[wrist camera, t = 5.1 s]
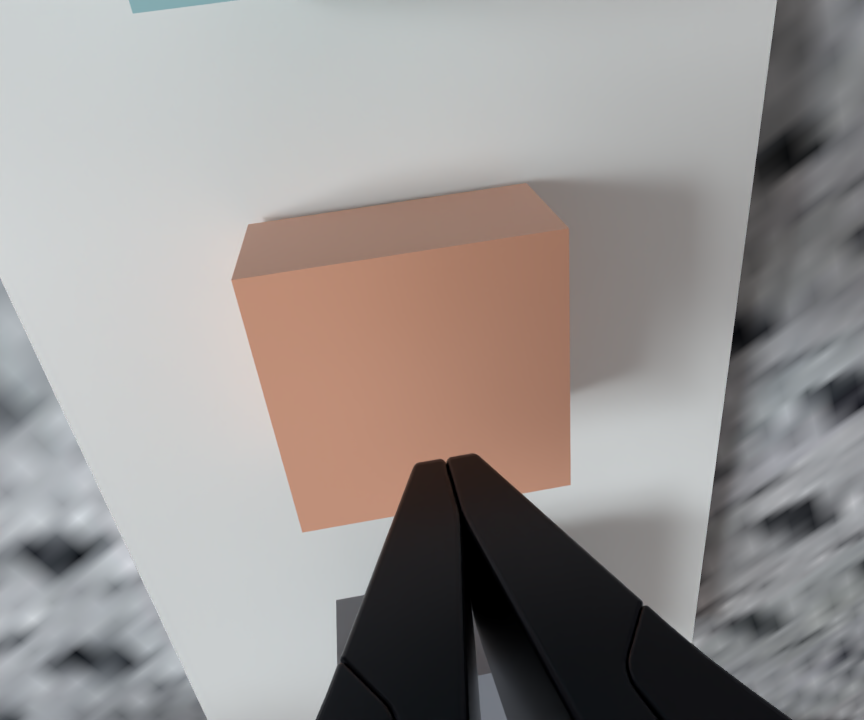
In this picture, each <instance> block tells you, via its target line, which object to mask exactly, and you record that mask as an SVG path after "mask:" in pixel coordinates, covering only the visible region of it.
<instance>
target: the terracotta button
mask: <svg viewBox="0 0 864 720" xmlns="http://www.w3.org/2000/svg"><path fill="white" fill-rule="evenodd" d="M231 281H232V285H233V288H234V292H235V295H236V299H237V302H238V306H239V310H240V313H241V317H242V320H243V324H244V327H245V331H246V334H247V338H248V341H249V345H250V349H251V352H252V356H253V359H254V363H255V366H256V370H257V373H258V377H259V381H260V384H261V388H262V391H263V395H264V398H265V402H266V405H267V409H268V412H269V416H270V420H271V423H272V427H273V430H274V434H275V437H276V441H277V444H278V448H279V452H280V455H281V459H282V462H283V466H284V469H285V473H286V476H287V480H288V483H289V487H290V491H291V494H292V498H293V501H294V505H295V508H296V512H297V515H298V519H299V522H300V526H301V530H302V533H303V532H309V531H314V530H320V529H326V528H331V527H337V526H342V525H348V524H354V523H359V522H365V521H371V520H376V519H382V518H387V517H393V516H395V513H396V511H397V508H398V505H399V503H400V500H401V498H402V495H403V492H404V490H405V487H406V484H407V482H408V479H409V477H410V474H411V471H412V469H413V467H414V465H415V464H416V463H418V462H424V461H430V460H435V459H443V460H444V461H445V462H446V461H447V459H448V458H449V457H453V456H459V455H464V454H470V453H475V454H477V455H479V456H480V457H481V458H482V459H483V460H484V461H486V462H487V463H488V464H489V465H490V466H491V467H492V468H493V469H495V470H496V471H497V472H498V473H499V474H500V475H501V476H502V477H504V478H505V479H506V480H507V481H508V482H509V483H510V484H511V485H513V486H514V487H515V488H516V489H517V490H518V491H519V492H520V493H522V494H523V493H528V492H534V491H540V490H545V489H551V488H557V487H562V486H568V485H571V449H570V295H569V228H568V227H567V226H566V225H565V223H564V222H563V221H562V220H561V219H560V218H559V217H558V216H557V215H556V214H555V213H554V212H553V211H552V210H551V209H550V208H549V206H548V205H547V204H546V203H545V202H544V201H543V200H542V199H541V198H540V197H539V196H538V195H537V194H536V193H535V192H534V191H533V190H532V188H531V187H530V186H529V185H528V184H527V183H523V184H516V185H510V186H503V187H496V188H489V189H483V190H476V191H469V192H462V193H456V194H449V195H442V196H436V197H429V198H422V199H415V200H409V201H402V202H395V203H388V204H382V205H375V206H368V207H362V208H355V209H348V210H341V211H335V212H328V213H321V214H315V215H308V216H301V217H294V218H288V219H281V220H274V221H267V222H261V223H254V224H248V227H247V230H246V233H245V236H244V240H243V243H242V246H241V250H240V253H239V256H238V260H237V263H236V266H235V269H234V273H233V276H232V279H231Z"/></svg>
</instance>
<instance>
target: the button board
mask: <svg viewBox="0 0 864 720" xmlns="http://www.w3.org/2000/svg"><path fill="white" fill-rule="evenodd" d="M776 5H777V0H235V1H227V2H220V3H212V4H204V5H196V6H188V7H181V8H173V9H165V10H157V11H150V12H142V13H134V14H133V13H132V9H131V6H130V3H129V0H0V278H1V281H2V283H3V285H4V287H5V289H6V291H7V293H8V296H9V298H10V300H11V302H12V304H13V306H14V308H15V310H16V313H17V315H18V317H19V319H20V321H21V323H22V325H23V327H24V330H25V332H26V334H27V336H28V338H29V340H30V342H31V345H32V347H33V349H34V351H35V353H36V355H37V357H38V359H39V362H40V364H41V366H42V368H43V370H44V372H45V374H46V377H47V379H48V381H49V383H50V385H51V387H52V389H53V391H54V394H55V396H56V398H57V400H58V402H59V404H60V406H61V409H62V411H63V413H64V415H65V417H66V419H67V421H68V423H69V426H70V428H71V430H72V432H73V434H74V436H75V438H76V441H77V443H78V445H79V447H80V449H81V451H82V453H83V455H84V458H85V460H86V462H87V464H88V466H89V468H90V470H91V473H92V475H93V477H94V479H95V481H96V483H97V485H98V487H99V490H100V492H101V494H102V496H103V498H104V500H105V502H106V504H107V507H108V509H109V511H110V513H111V515H112V517H113V519H114V522H115V524H116V526H117V528H118V530H119V532H120V534H121V536H122V539H123V541H124V543H125V545H126V547H127V549H128V551H129V554H130V556H131V558H132V560H133V562H134V564H135V566H136V568H137V571H138V573H139V575H140V577H141V579H142V581H143V583H144V586H145V588H146V590H147V592H148V594H149V596H150V598H151V600H152V603H153V605H154V607H155V609H156V611H157V613H158V615H159V618H160V620H161V622H162V624H163V626H164V628H165V630H166V632H167V635H168V637H169V639H170V641H171V643H172V645H173V647H174V650H175V652H176V654H177V656H178V658H179V660H180V662H181V664H182V667H183V669H184V671H185V673H186V675H187V677H188V679H189V681H190V684H191V686H192V688H193V690H194V692H195V694H196V696H197V699H198V701H199V703H200V705H201V707H202V709H203V711H204V713H205V716H206V718H207V720H315V719H316V717H317V715H318V712H319V710H320V707H321V705H322V703H323V700H324V698H325V696H326V693H327V691H328V688H329V685H330V683H331V680H332V677H333V675H334V672H335V670H336V667H337V629H336V600H339V599H345V598H350V597H356V596H361V595H364V594H365V592H366V589H367V587H368V584H369V581H370V579H371V576H372V574H373V571H374V568H375V566H376V563H377V560H378V558H379V555H380V553H381V550H382V547H383V545H384V542H385V539H386V537H387V534H388V532H389V529H390V526H391V524H392V521H393V518H394V516H393V517H387V518H382V519H376V520H371V521H365V522H359V523H354V524H348V525H342V526H337V527H331V528H326V529H320V530H314V531H309V532H303V533H302V530H301V526H300V522H299V519H298V515H297V512H296V508H295V505H294V501H293V498H292V494H291V491H290V487H289V483H288V480H287V476H286V473H285V469H284V466H283V462H282V459H281V455H280V452H279V448H278V444H277V441H276V437H275V434H274V430H273V427H272V423H271V420H270V416H269V412H268V409H267V405H266V402H265V398H264V395H263V391H262V388H261V384H260V381H259V377H258V373H257V370H256V366H255V363H254V359H253V356H252V352H251V349H250V345H249V341H248V338H247V334H246V331H245V327H244V324H243V320H242V317H241V313H240V310H239V306H238V302H237V299H236V295H235V292H234V288H233V285H232V281H231V279H232V276H233V273H234V269H235V266H236V263H237V260H238V256H239V253H240V250H241V246H242V243H243V240H244V236H245V233H246V230H247V227H248V224H254V223H261V222H267V221H274V220H281V219H288V218H294V217H301V216H308V215H315V214H321V213H328V212H335V211H341V210H348V209H355V208H362V207H368V206H375V205H382V204H388V203H395V202H402V201H409V200H415V199H422V198H429V197H436V196H442V195H449V194H456V193H462V192H469V191H476V190H483V189H489V188H496V187H503V186H510V185H516V184H523V183H527V184H528V185H529V186H530V187H531V188H532V190H533V191H534V192H535V193H536V194H537V195H538V196H539V197H540V198H541V199H542V200H543V201H544V202H545V203H546V204H547V205H548V206H549V208H550V209H551V210H552V211H553V212H554V213H555V214H556V215H557V216H558V217H559V218H560V219H561V220H562V221H563V222H564V223H565V225H566V226H567V227H568V228H569V295H570V449H571V485H568V486H562V487H557V488H551V489H545V490H540V491H534V492H528V493H523V495H524V496H525V497H526V498H527V499H528V500H529V501H531V502H532V503H533V504H534V505H535V506H536V507H537V508H538V509H540V510H541V511H542V512H543V513H544V514H545V515H546V516H547V517H549V518H550V519H551V520H552V521H553V522H554V523H555V524H556V525H558V526H559V527H560V528H561V529H562V530H563V531H564V532H565V533H567V534H568V535H569V536H570V537H571V538H572V539H573V540H574V541H576V542H577V543H578V544H579V545H580V546H581V547H582V548H583V549H585V550H586V551H587V552H588V553H589V554H590V555H591V556H592V557H594V558H595V559H596V560H597V561H598V562H599V563H600V564H601V565H603V566H604V567H605V568H606V569H607V570H608V571H609V572H610V573H612V574H613V575H614V576H615V577H616V578H617V579H618V580H619V581H621V582H622V583H623V584H624V585H625V586H626V587H627V588H628V589H630V590H631V591H632V592H633V593H634V594H635V595H636V596H637V597H639V598H640V599H641V600H642V602H643V606H644V605H647V606H649V607H650V608H651V609H652V610H653V611H655V612H656V613H657V614H658V615H659V616H660V617H661V618H662V619H663V620H665V621H666V622H667V623H668V624H669V625H670V626H671V627H673V628H674V629H675V630H676V631H677V632H679V633H680V634H681V635H682V636H683V637H684V638H686V639H687V640H688V641H689V642H690V643H692V639H693V632H694V624H695V616H696V609H697V601H698V594H699V586H700V579H701V571H702V564H703V556H704V548H705V541H706V533H707V526H708V518H709V511H710V503H711V496H712V488H713V480H714V473H715V465H716V458H717V450H718V443H719V435H720V428H721V420H722V412H723V405H724V397H725V390H726V382H727V375H728V367H729V360H730V352H731V344H732V337H733V329H734V322H735V314H736V307H737V299H738V292H739V284H740V277H741V269H742V261H743V254H744V246H745V239H746V231H747V224H748V216H749V209H750V201H751V193H752V186H753V178H754V171H755V163H756V156H757V148H758V141H759V133H760V125H761V118H762V110H763V103H764V95H765V88H766V80H767V73H768V65H769V57H770V50H771V42H772V35H773V27H774V20H775V12H776Z"/></svg>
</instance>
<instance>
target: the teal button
mask: <svg viewBox="0 0 864 720" xmlns="http://www.w3.org/2000/svg"><path fill="white" fill-rule="evenodd" d="M227 1H235V0H129V3H130V6H131V9H132V13H133V14H134V13H142V12H150V11H157V10H165V9H173V8H181V7H188V6H196V5H204V4H212V3H220V2H227Z"/></svg>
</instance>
